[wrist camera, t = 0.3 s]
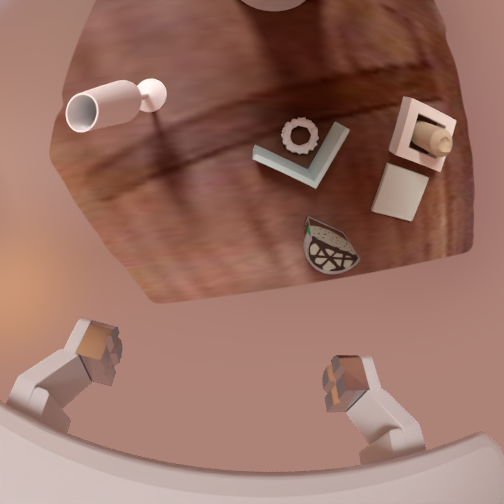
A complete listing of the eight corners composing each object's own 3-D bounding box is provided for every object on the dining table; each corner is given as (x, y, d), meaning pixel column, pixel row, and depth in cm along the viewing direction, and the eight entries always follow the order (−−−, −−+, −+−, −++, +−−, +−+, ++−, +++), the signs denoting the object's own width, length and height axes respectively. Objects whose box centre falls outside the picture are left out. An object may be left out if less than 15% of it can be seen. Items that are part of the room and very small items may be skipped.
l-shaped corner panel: (338, 123, 49) (350, 129, 42) (308, 175, 55) (315, 188, 48) (281, 93, 46) (285, 94, 40) (252, 148, 52) (252, 159, 46)
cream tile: (386, 162, 52) (388, 163, 51) (426, 176, 53) (429, 177, 52) (370, 209, 58) (372, 211, 57) (409, 219, 59) (411, 221, 58)
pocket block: (403, 96, 44) (411, 98, 41) (447, 117, 45) (456, 120, 42) (388, 150, 50) (395, 155, 47) (432, 166, 51) (440, 172, 49)
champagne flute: (162, 114, 47) (102, 143, 27) (130, 110, 46) (57, 138, 26) (170, 80, 44) (110, 85, 24) (137, 77, 43) (62, 83, 23)
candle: (433, 134, 47) (461, 147, 39) (418, 150, 50) (443, 165, 41) (420, 114, 45) (447, 124, 37) (403, 131, 48) (429, 143, 40)
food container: (287, 236, 62) (292, 264, 53) (301, 213, 59) (309, 238, 50) (334, 255, 65) (345, 283, 56) (348, 234, 61) (362, 261, 53)
